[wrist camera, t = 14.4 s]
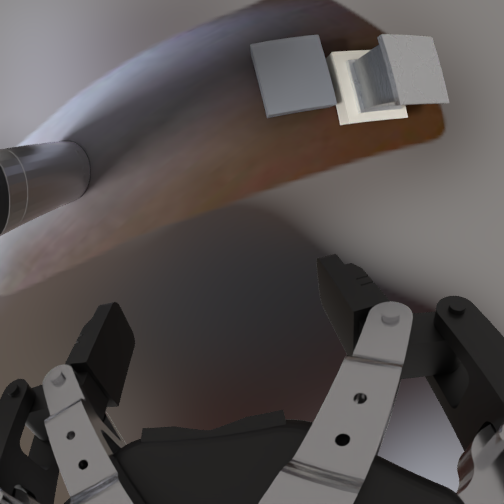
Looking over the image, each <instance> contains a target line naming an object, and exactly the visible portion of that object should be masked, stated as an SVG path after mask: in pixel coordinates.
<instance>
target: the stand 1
mask: <svg viewBox="0 0 504 504" xmlns="http://www.w3.org/2000/svg"><path fill="white" fill-rule="evenodd" d="M250 50H251V57H252V61H253V64H254V68H255V72H256V76H257V80H258V84H259V87H260V91H261V95H262V99H263V103H264V107H265V111H266V116H267V118H270V117H275V116H281V115H286V114H291V113H297V112H303V111H309V110H315V109H322V108H329V107H331V106H334V105H336V104H337V102H336V97H335V93H334V89H333V85H332V81H331V77H330V74H329V70H328V66H327V63H326V59H325V56H324V52H323V49H322V45H321V42H320V39H319V35H309V36H300V37H292V38H285V39H278V40H272V41H266V42H260V43H255V44H250Z"/></svg>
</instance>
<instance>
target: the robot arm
mask: <svg viewBox="0 0 504 504" xmlns="http://www.w3.org/2000/svg"><path fill="white" fill-rule="evenodd" d="M89 179H90V164H89V160H88V157H87V155H86V153H85V151H84V150H83V149H82V148H81V147H80V146H79V145H78V144H76V143H74V142H71V141H62V142H50V143H41V144H33V145H26V146H19V147H12V148H6V149H0V236H1V235H3V234H5V233H7V232H9V231H11V230H13V229H14V228H16V227H18V226H20V225H22V224H24V223H26V222H28V221H31V220H33V219H35V218H37V217H39V216H41V215H43V214H45V213H48V212H50V211H52V210H54V209H56V208H59V207H61V206H63V205H66V204H68V203H70V202H72V201H75V200H77V199H78V198H79V197H81V195H82V194H83V193H84V192H85V190H86V188H87V186H88V183H89ZM316 264H317V273H318V283H319V293H320V299H321V303H322V306H323V308H324V310H325V312H326V314H327V316H328V318H329V320H330V322H331V324H332V326H333V328H334V329H335V331H336V333H337V335H338V337H339V339H340V341H341V343H342V345H343V347H344V349H345V351H346V353H347V356H346V357H345V359H344V361H343V363H342V365H341V367H340V370H339V372H338V374H337V376H336V378H335V380H334V383H333V385H332V387H331V389H330V391H329V393H328V395H327V397H326V399H325V401H324V403H323V405H322V407H321V409H320V411H319V413H318V415H317V416H316V418H315V420H314V422H313V423H312V422H308V421H303V420H285V416H284V412H283V410H280V411H275V412H271V413H266V414H261V415H255V416H250V417H245V418H243V419H240V420H238V421H235V422H233V423H230V424H227V425H224V426H222V427H219V428H216V429H213V430H197V429H188V428H181V427H161V428H143V430H142V437H141V439H139V440H136V441H134V442H131V443H129V444H127V445H126V443H125V442H124V440H123V438H122V437H121V435H120V434H119V432H118V430H117V429H116V427H115V425H114V423H113V422H112V420H111V418H110V417H109V415H108V414H107V413H106V412H105V411H106V407H115V406H116V407H117V406H119V402H120V398H121V394H122V390H123V387H124V383H125V379H126V375H127V372H128V367H129V364H130V361H131V357H132V354H133V350H134V347H135V338H134V334H133V331H132V329H131V327H130V326H129V323H128V321H127V319H126V317H125V315H124V313H123V311H122V309H121V307H120V306H119V304H118V303H116V302H113V303H108V304H103V305H100V306H98V308H97V310H96V312H95V314H94V316H93V318H92V319H91V320H90V321H89V322H88V323H87V324H86V325H85V326H84V327H83V329H82V331H81V333H80V337H78V339H77V341H76V344H75V345H74V347H73V349H72V351H71V353H70V355H69V357H68V359H67V361H66V364H65V365H59V366H57V367H55V368H53V369H52V370H50V371H49V373H47V375H46V376H45V378H44V380H43V385H40V386H37V387H34V388H31V387H30V386H29V384H28V383H27V382H26V381H25V380H24V379H17V380H15V381H13V382H12V383H10V384H9V385H8V386H7V387H6V389H5V391H4V392H3V395H2V397H1V399H0V504H54V497H55V492H56V486H57V480H58V475H59V470H60V472H61V475H62V478H63V480H64V482H65V485H66V487H67V490H68V492H69V494H70V498H69V499H68V500H67V501H66V502H65V503H64V504H504V337H503V336H502V335H501V334H500V332H499V331H498V330H497V329H496V328H495V327H494V326H493V325H492V323H490V321H489V320H488V319H487V318H486V317H485V316H484V315H483V314H482V313H481V312H480V311H479V310H478V308H477V307H476V306H475V305H474V304H473V303H472V302H471V301H469V300H468V299H466V298H463V297H459V296H449V297H445V298H443V299H441V300H440V301H439V302H438V304H437V307H436V312H428V313H412V312H411V310H410V309H409V308H408V307H407V306H405V305H403V304H401V303H398V302H390V301H389V300H388V299H387V297H386V296H385V295H384V294H383V292H382V291H381V290H380V289H379V288H378V287H377V285H376V284H375V283H373V281H372V280H371V278H370V277H368V275H367V274H366V272H365V271H364V270H363V269H362V268H360V267H358V266H356V265H354V264H352V263H350V264H346V265H345V264H344V263H343V262H342V261H341V260H340V258H339V257H338V256H337V255H336V254H334V255H329V256H325V257H321V258H317V261H316ZM423 376H425V377H426V379H427V381H428V382H429V384H430V386H431V388H432V390H433V392H434V393H435V395H436V397H437V399H438V401H439V402H440V404H441V406H442V408H443V410H444V412H445V414H446V415H447V417H448V419H449V421H450V423H451V425H452V427H453V429H454V431H455V433H456V435H457V437H458V439H459V441H460V443H461V445H462V447H463V449H464V452H463V453H462V455H461V456H460V458H459V461H458V465H457V471H458V476H459V487H458V490H457V493H455V492H454V491H452V490H451V489H449V488H447V487H445V486H443V485H440V484H438V483H435V482H433V481H431V480H428V479H426V478H424V477H421V476H419V475H417V474H415V473H413V472H410V471H408V470H406V469H404V468H402V467H400V466H398V465H396V464H394V463H392V462H390V461H388V460H386V459H384V458H382V457H380V456H378V452H379V450H380V447H381V444H382V441H383V438H384V435H385V433H386V429H387V426H388V423H389V420H390V417H391V413H392V410H393V407H394V404H395V400H396V396H397V393H398V389H399V386H400V382H401V379H405V378H415V377H423ZM25 425H26V426H27V427H28V428H29V429H30V430H31V431H32V432H33V433H34V434H35V436H34V439H33V442H32V446H31V449H30V452H29V456H27V455H25V454H24V453H23V451H22V450H21V448H20V438H21V435H22V432H23V429H24V426H25Z"/></svg>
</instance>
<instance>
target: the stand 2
mask: <svg viewBox="0 0 504 504" xmlns="http://www.w3.org/2000/svg"><path fill="white" fill-rule="evenodd" d="M369 51H370V50H357V51H340V52H332V53H331V54H330V55H329V56H328V57H327V58H326V63H327V66H328V70H329V74H330V77H331V81H332V85H333V89H334V93H335V97H336V102H337V104H336V108H337V113H338V117H339V122H340V125H345V124H352V123H360V122H368V121H377V120H387V119H397V118H408V116H407V111H406V106H405V105H401V107H402V109H397V110H386V111H375V112H366V113H358V110H357V106H356V102H355V97H354V93H353V89H352V85H351V81H350V77H349V74H348V70H347V66H346V63H345V62H346V61H347V60H354V59H359V58H360V57H362V56H363V55H365V54H366V53H367V52H369Z"/></svg>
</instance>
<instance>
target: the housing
mask: <svg viewBox="0 0 504 504" xmlns="http://www.w3.org/2000/svg"><path fill="white" fill-rule="evenodd" d="M377 39H378V42H379V45H377V46H376V47H375V48H373V49H372V50H370V51H369V52H367V53H366V54H365V55H363V56H362V57H360V58H359V59H354V60H347V61H346V62H345V63H346V66H347V70H348V74H349V77H350V81H351V85H352V89H353V93H354V97H355V102H356V106H357V110H358V113H366V112H375V111H386V110H397V109H402V107H401V105H416V104H444V103H449V99H448V95H447V89H446V85H445V81H444V77H443V73H442V69H441V66H440V61H439V58H438V54H437V51H436V48H435V45H434V41H433V38H432V37H427V36H415V35H396V34H381V35H380V36H378V37H377Z"/></svg>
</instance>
